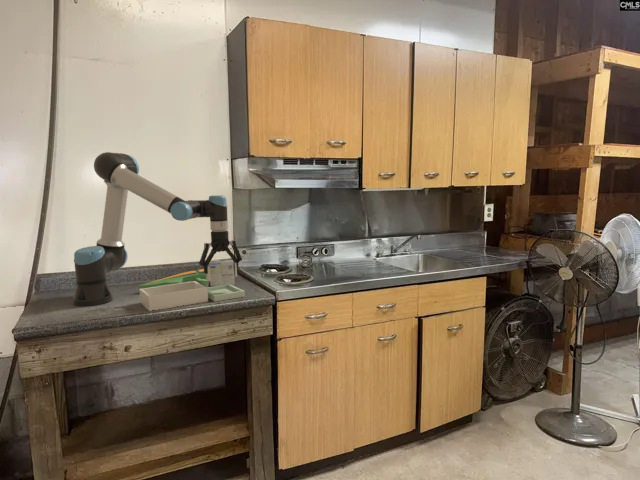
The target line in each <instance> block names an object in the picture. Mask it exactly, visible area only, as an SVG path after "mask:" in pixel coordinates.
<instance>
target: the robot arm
mask: <svg viewBox="0 0 640 480" xmlns="http://www.w3.org/2000/svg"><path fill="white" fill-rule="evenodd" d="M93 169H94V172H95V174H96V175H97V176H98V177H99V178H101V179H102V180H103V182H104V184H105V185H106V186H107V187H106V195H105V196H106V197H105V203H104V210H103V211H104V212H103V218H102V219H103V221H102V229H101V236H100V238H99V239H97V241H96V245H94V246H93V245H91V246H90V245H89V246H86V247H82V248H79V249H77V250H76V251H74V254H73V262H74V263H73V264H74V270H75V271H74V273H75V283H76V287H75V292H74V295H73V300H72V301H73V305H74V306H78V307H88V306H89V307H90V306H97V305H99V306H100V305H103V304H107V303H110V302H111V301H113V293H112V291H111V288H110V286H109V284H108V281H107V274H108V273H111V272H115V271H118V270H119V269H121V268H123V267H124V266H125V264H126V263H127V261H128V256H129V255H128V251H127V250H126V248H125V242H124V241H123V240H122V239H123V233H124V231H123V230H124V224H125V215H126V208H127V201H128V200H127V199H128V195H129V194H128V192H131V193H133V194H135V195H136V196H138V197H140V198H141V199H143V200H145V201H147V202H149V203H151V204H153V205H154V206H155V207H158V208H159V209H162V210H163V211H166V212H167V213H168V214H170V216H172V219H174V220H176V221H182V222H183V221H188V220H192V219H197V218H209V221H210V223H209V224H210V230H211V231H210V240H211V241H210V243H209V242H204V244H203V245H204V246H203V250H202V253H201V257H200V259H199V262H198V265H199V266H202V267H203V269H204V273H205V274H206V278H205V279H206V280H207V281H208V282H209V281H210V266H209V262H210V261H211V260H212V259H213V258H214V256H215V255H216V254H217V253H220V252H225V253H227V255H228V256H229V257H230V259H233V267H234V278H238V270H239V263H240V262H241V261H243V257H242V255H241V253H240V251H239V249H238V247H237V243H236V242H237V241H235V240H233V239H231V240H229V231H228V230H229V223H228V222H229V220H228V204H227V203H228V201H227V197H226V195H222V194H221V195H220V194H219V195H209V196H208V199H205V200H202V199H201V200H197V199H196V200H192V199H191V200H189V199H188V200H184V199H182V198H181V197H179V196H177V195H175V194H174V193H171V192H170V191H168V190H167V189H165V188H163V187H161V186H159V185H158V184H156V183H153V182H152V181H150V180H149V179H147V178H145V177H143V176H141V175H139V172H140V166H139V163H138V161H137V160H136V159H135V158H134V157H133V156H132V155H129V154H126V153H121V152H120V153H119V152H109V151H107V152H102V153H100V154H99V155H97V156H96V158H95V159H94V162H93ZM229 246H231V248H232V250H233V251H231V249H230V247H229ZM210 248H212V249H211V250H210ZM209 250H210V252H209ZM208 252H209V254H208ZM233 252H234V253H233ZM234 254H235V255H234Z"/></svg>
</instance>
